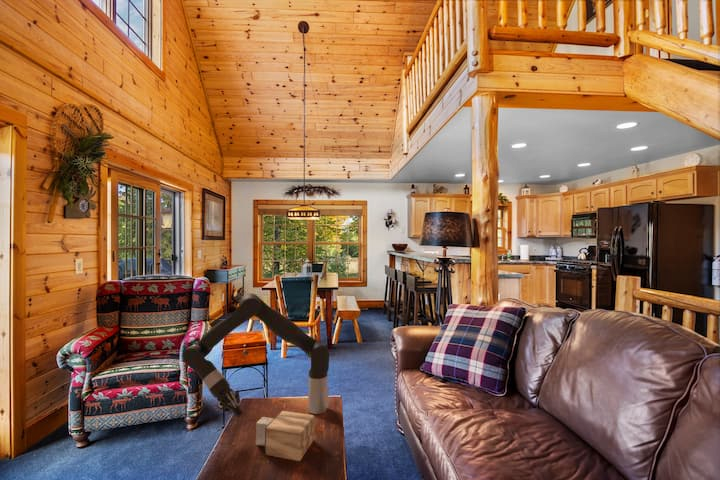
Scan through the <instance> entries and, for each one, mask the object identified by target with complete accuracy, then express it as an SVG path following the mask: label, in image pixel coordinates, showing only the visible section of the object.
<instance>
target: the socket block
mask: <svg viewBox="0 0 720 480" xmlns="http://www.w3.org/2000/svg"><path fill="white" fill-rule="evenodd" d="M314 420H315V414H313V415H312V414H306V413H302V412H301V413H300V412H293V411H287V410H281V411H280V412H279V413H278V414H277V415H276V416H275V417H274V419H273V420H272V421H271V422H270V424H269V425H268V426H267V427H266V428H265V446H264V455H265V456H269V457H270V456H271V457H276V458H279V459H280V458H282V459H287V460H291V461H297V462H300V461H301V460H302V459H303V457H304V455H306V452H307V451H308V450H309V448H310V446H311V445H312V443H313V442H314V438H315V437H314V434H315V431H314V430H315V429H314V428H315V427H314V426H315V421H314Z"/></svg>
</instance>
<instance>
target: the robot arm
mask: <svg viewBox="0 0 720 480" xmlns="http://www.w3.org/2000/svg"><path fill="white" fill-rule="evenodd" d="M253 317H255V318H258V319H259V320H260V321H262V323H263V324H264V325H265V326H266V327H267V328H268V329H269V330H270V331H271V333H273V334H274V335H276V336H277V337H278V338H279V339H281V340H283V341H285V342H286V343H288V344H290V345H293V346H295V347H297V348H299V349H300V350H302V351H303V352H304V353H305V354H306V355H307V356H308V357H309V358H310V368H309V370H308V397H307V398H308V403H307V405H308V407H307V411H308V413H311V415H312V414H313V415H320V414H325V412H327V410H328V407H329V389H328V371H329V367H330V351H329V348H328V347H327V346H326V345H325V344H324V343H322V342H321V341H319V340H317V339H315V338H313V337H312V336H310V335H309V334H307V333H306V332H305V331H304V330H303V329H302V328H301V327H300V326H298V325H297V324H296V323H295V322H293V321H292V320H290V319H289V318H288V317H286V316H284V315H283V314H281V313H280V312H278V311H277V310H275V309H273V308H272V307H270V305H269V304H267V303H266V302H265V301H263V300H262V298H260V297H259V296H258V295H257V294H255V293H251V292H250V293H245V294H244V295H242V296H241V298H240V300H239V306H238V307H237V308H236V310H235V311H234V312H233V313H231V314H230V315H228V317H226V318H225V319H224V320H221V321H220V322H218V323H217V324H216V325H214V326H212V327H211V328H210V329H209V330H208V331H207V332H206V333H204V335H202V336H201V339H200V341H199V342H198V343H196V344H195V345H190V346H188V347H186V348H185V349H184V350H183V351H182V359H183V362H184V363H185V364H186V365H187V366H188V367H189V368H190V369H192V371H194V372H196V374H197V376H198V377H199V378H200V380H201V381H202V382H203V384H204V386H205V387H206V389H207V390H208V391H209V393H210V394H211V395H212V396H213V398H214V399H217V402H218V403H217V405H216V408H217V409H219V410H222V411H225V412H226V413H227V412H228V413H229V412H232V413H233V414H234V416H236V417H237V418H239V417H241V416H242V415H243V414H244V411H243V410H242V409H241V407H240V406H239V404H240V403H241V398H240V391H239V390H238V389H237V390H236V391H234V390H233V389H232V388H231V387H230V386H231V384H230V382H228V380H227V379H226V378H225V376H224V375H223V374H222V373H221V372H220V371H219V369H217V367H216V366H215V364H213V362H212V361H211V360H209V359H206V358H205V357H206V356H207V355H208V354H209V353H210V352H211V351H212V350H213V348H215V347H216V346H217V345H218V344H219V343H221V341H223V340H224V339H225V338H226V337H227V336H228V335H229V334H230V333H232V332H233V331H234V330H236V329H237V328H238V327H240V326H241V325H242V324H244V323H245V322H246V321H248V320H250V319H251V318H253Z"/></svg>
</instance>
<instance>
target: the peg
mask: <svg viewBox="0 0 720 480" xmlns="http://www.w3.org/2000/svg"><path fill="white" fill-rule="evenodd" d="M274 418H275V417H274ZM274 418H273V417H266V416H261V417H260V419H258V420H257V422H256V425H255V426H256V428H255V445H256V446H262V447H265V428H266V427H267V426H268V425H269V424H270V422H271V421H272V420H273V419H274Z"/></svg>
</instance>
